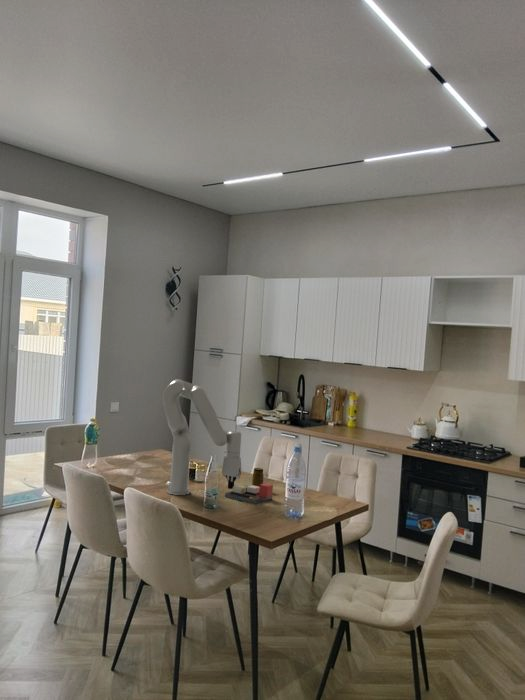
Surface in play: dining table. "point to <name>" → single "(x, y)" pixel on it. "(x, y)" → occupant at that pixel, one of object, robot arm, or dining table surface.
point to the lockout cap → (265, 490)
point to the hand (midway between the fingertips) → (230, 488)
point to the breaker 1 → (239, 489)
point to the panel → (247, 497)
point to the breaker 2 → (253, 489)
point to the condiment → (257, 477)
